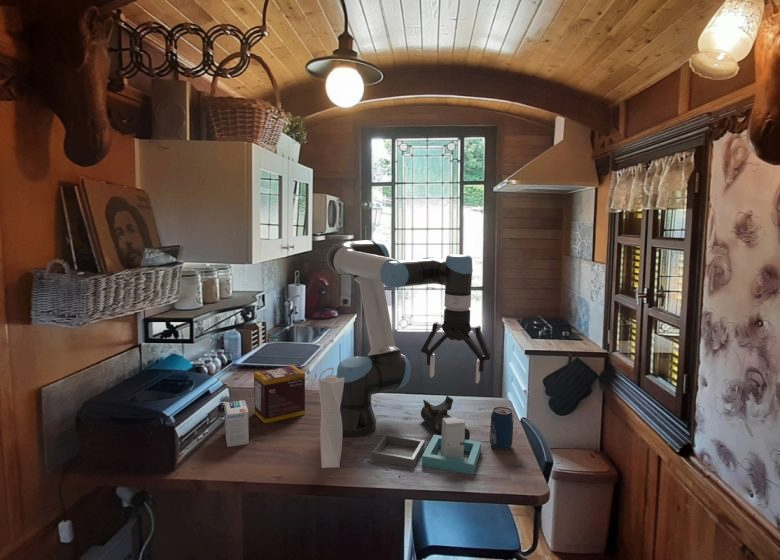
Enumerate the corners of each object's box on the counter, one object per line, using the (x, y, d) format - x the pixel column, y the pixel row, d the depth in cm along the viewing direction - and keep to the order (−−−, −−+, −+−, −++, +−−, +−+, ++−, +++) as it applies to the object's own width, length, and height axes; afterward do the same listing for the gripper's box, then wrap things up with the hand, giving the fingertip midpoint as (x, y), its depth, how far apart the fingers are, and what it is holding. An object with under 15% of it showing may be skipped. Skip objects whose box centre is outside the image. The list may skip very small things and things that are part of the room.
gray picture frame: (371, 460, 155) (371, 452, 154) (385, 441, 167) (385, 434, 167) (413, 467, 151) (413, 459, 150) (424, 447, 163) (424, 440, 163)
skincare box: (444, 462, 154) (446, 424, 152) (440, 455, 158) (441, 417, 156) (464, 460, 155) (466, 422, 153) (459, 453, 160) (460, 416, 158)
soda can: (514, 444, 166) (516, 409, 164) (507, 453, 160) (509, 416, 159) (493, 439, 170) (495, 404, 168) (486, 447, 164) (488, 411, 162)
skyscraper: (319, 456, 156) (319, 366, 152) (344, 455, 157) (344, 366, 153) (317, 469, 149) (317, 375, 144) (343, 469, 149) (344, 375, 145)
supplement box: (305, 414, 187) (305, 372, 185) (264, 424, 178) (263, 380, 176) (294, 405, 196) (293, 365, 193) (254, 413, 187) (253, 371, 185)
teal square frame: (421, 465, 152) (422, 455, 152) (433, 443, 166) (434, 434, 166) (473, 474, 147) (473, 464, 147) (480, 451, 162) (481, 442, 161)
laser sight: (449, 448, 163) (450, 418, 162) (414, 421, 183) (414, 394, 181) (474, 442, 167) (476, 413, 166) (437, 416, 187) (438, 390, 186)
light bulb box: (224, 433, 171) (223, 402, 169) (245, 430, 173) (244, 399, 172) (227, 447, 161) (226, 414, 159) (249, 444, 164) (248, 411, 162)
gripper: (412, 307, 151) (410, 377, 154) (499, 314, 143) (495, 388, 146) (419, 302, 158) (417, 369, 161) (502, 309, 150) (498, 380, 153)
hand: (454, 378), depth 153 cm, fingers open, 13 cm apart
